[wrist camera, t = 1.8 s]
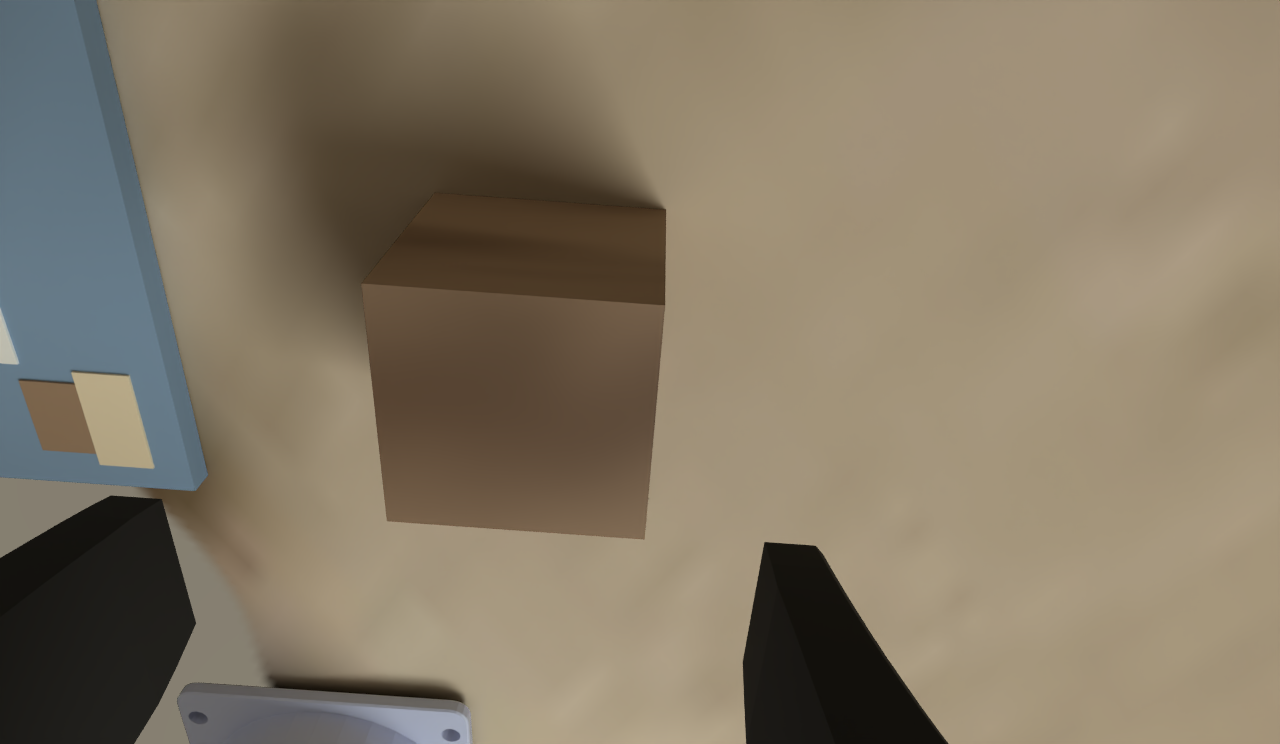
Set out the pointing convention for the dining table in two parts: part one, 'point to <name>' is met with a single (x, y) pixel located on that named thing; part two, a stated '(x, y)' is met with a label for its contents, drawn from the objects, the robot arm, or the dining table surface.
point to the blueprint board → (80, 271)
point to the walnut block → (518, 364)
